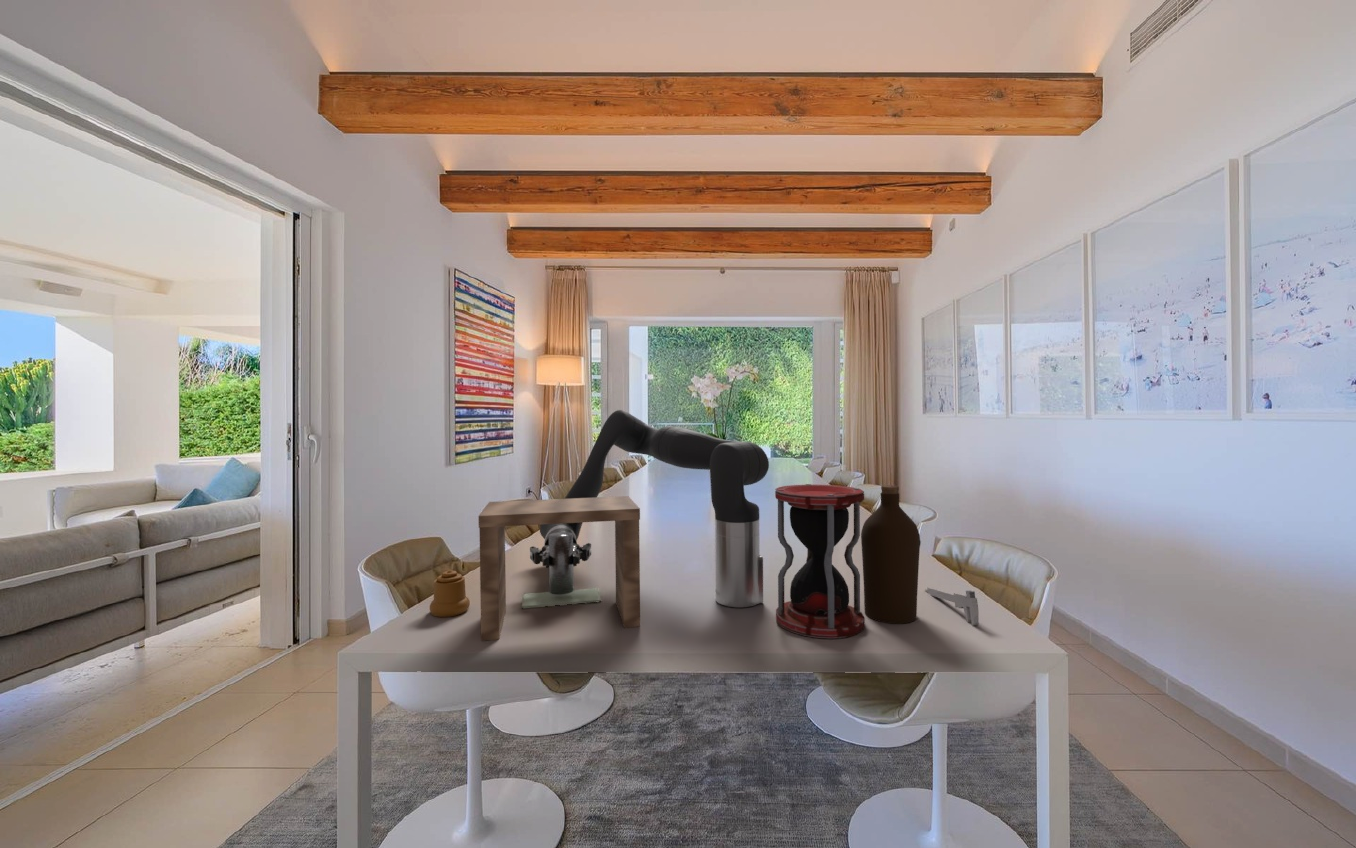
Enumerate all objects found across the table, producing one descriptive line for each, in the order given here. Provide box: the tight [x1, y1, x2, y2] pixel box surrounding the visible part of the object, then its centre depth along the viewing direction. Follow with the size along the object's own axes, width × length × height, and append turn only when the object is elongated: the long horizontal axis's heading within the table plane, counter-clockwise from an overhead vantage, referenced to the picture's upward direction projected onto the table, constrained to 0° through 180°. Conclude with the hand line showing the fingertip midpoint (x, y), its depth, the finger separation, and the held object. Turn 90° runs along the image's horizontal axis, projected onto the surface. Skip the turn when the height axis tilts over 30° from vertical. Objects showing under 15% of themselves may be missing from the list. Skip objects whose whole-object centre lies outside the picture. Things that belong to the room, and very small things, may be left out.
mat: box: [521, 587, 602, 609], centre depth 118 cm, size 16×8×1 cm, turn 102°
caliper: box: [924, 587, 980, 626], centre depth 111 cm, size 20×1×6 cm, turn 179°
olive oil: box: [860, 484, 922, 625], centre depth 107 cm, size 11×11×25 cm
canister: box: [548, 532, 575, 595], centre depth 118 cm, size 5×5×12 cm
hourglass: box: [774, 483, 866, 640], centre depth 104 cm, size 16×16×25 cm
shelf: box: [478, 495, 641, 642], centre depth 106 cm, size 28×16×22 cm, turn 102°
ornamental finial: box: [429, 570, 471, 618], centre depth 111 cm, size 8×8×8 cm
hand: (561, 562), depth 115 cm, fingers closed on canister, 5 cm apart
